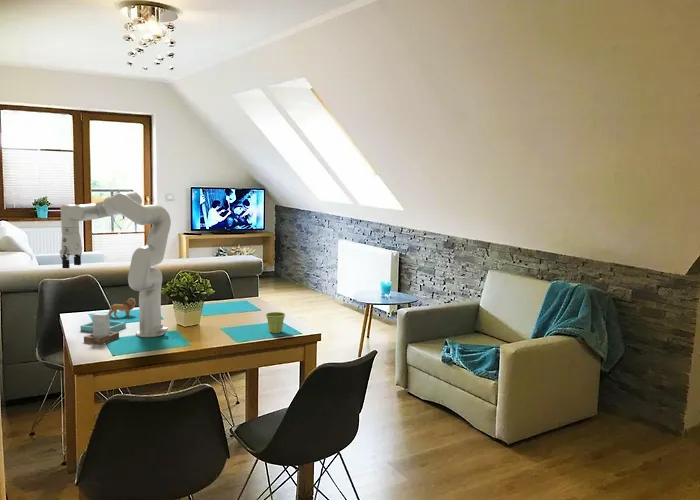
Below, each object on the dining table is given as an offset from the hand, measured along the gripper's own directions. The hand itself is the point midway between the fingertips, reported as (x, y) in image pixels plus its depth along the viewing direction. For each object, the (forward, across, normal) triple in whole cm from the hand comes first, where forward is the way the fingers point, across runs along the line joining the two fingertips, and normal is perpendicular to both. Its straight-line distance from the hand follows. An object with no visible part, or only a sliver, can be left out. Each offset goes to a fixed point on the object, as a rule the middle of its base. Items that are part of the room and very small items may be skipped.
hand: (71, 266), depth 284 cm
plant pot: (+30, +10, -96) cm, 101 cm away
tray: (+29, -2, -16) cm, 33 cm away
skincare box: (+30, -18, -24) cm, 42 cm away
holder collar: (+29, -18, -24) cm, 42 cm away
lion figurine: (+30, +24, -12) cm, 40 cm away
